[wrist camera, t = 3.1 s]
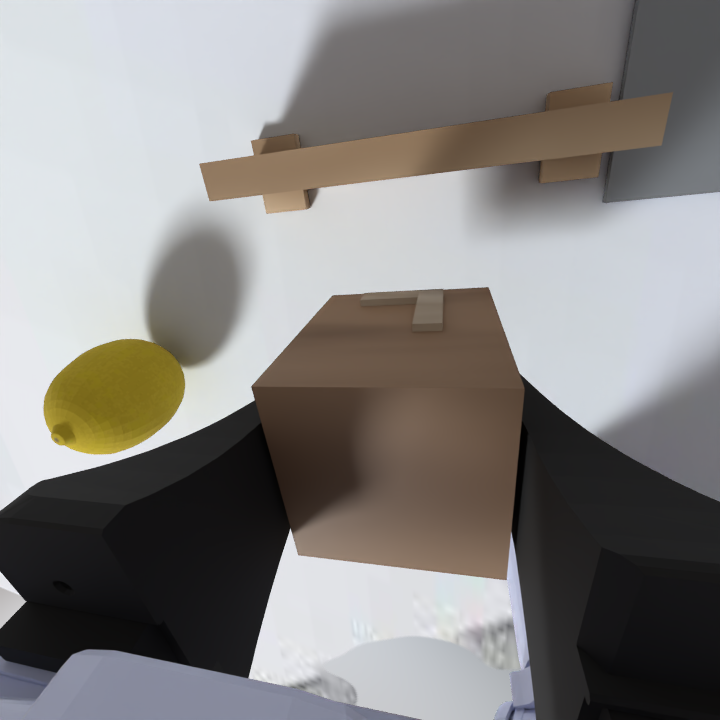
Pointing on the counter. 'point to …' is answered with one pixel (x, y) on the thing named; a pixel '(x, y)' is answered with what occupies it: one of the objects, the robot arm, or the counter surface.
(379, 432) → the letter block
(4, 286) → the counter surface
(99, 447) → the lemon
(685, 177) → the mat
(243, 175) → the screen
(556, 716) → the robot arm
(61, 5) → the counter surface
